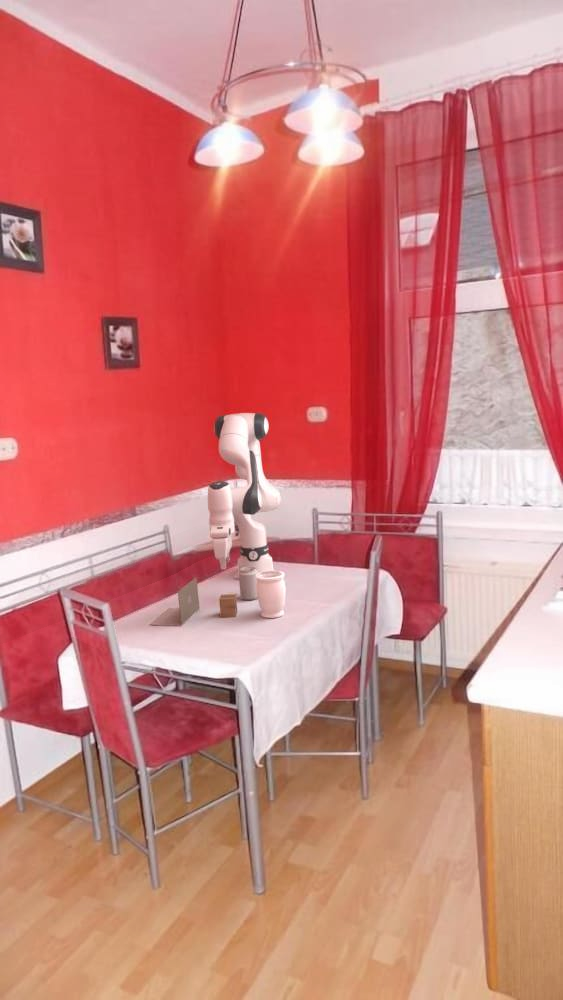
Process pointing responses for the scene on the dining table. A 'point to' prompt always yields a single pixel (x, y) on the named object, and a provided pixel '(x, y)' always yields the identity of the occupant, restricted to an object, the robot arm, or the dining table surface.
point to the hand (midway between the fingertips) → (225, 565)
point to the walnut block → (228, 605)
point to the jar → (271, 593)
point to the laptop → (181, 607)
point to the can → (248, 583)
